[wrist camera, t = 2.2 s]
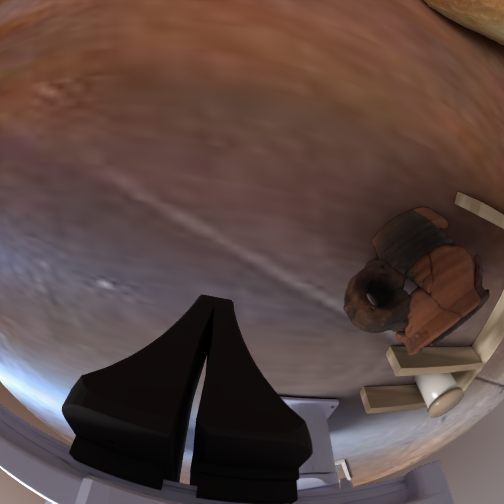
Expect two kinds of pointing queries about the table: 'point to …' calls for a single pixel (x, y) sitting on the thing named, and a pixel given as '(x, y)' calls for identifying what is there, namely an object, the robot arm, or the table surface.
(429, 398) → the cream jar
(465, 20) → the bread roll
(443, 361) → the bracket
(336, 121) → the table surface
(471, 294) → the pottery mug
